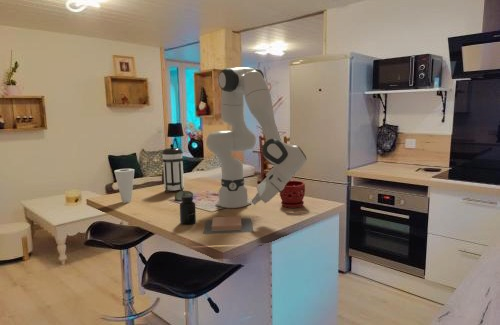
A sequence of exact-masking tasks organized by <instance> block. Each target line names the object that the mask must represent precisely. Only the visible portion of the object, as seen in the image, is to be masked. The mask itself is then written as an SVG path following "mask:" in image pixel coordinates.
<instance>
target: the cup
mask: <svg viewBox="0 0 500 325" xmlns="http://www.w3.org/2000/svg"><path fill="white" fill-rule="evenodd" d="M135 170H136V169H134V168H120V169H115V170H114V171H113V172H114V175H115V180H116V182H117V186H118V191H119V195H120V199H121V202H122V204H126V203H131V202H132V200H133V198H132V196H133V188H134V177H135Z"/></svg>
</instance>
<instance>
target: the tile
mask: <svg viewBox="0 0 500 325" xmlns="http://www.w3.org/2000/svg"><path fill="white" fill-rule="evenodd" d="M241 219H242V216H241V215H239V216H218V217H216V216H214V217H213V218H212V220H213V222H212V231H224V230H242V228H241Z"/></svg>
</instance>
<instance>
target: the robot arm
mask: <svg viewBox="0 0 500 325" xmlns="http://www.w3.org/2000/svg"><path fill="white" fill-rule="evenodd" d="M217 78H218V80H217V81H218V85H219V87H220V89H221V90H222V91H221V98H220V99H221V101H220V117H221V120H222V121H223V122H224V123H225V124H227V125H230V126H231V128H232V129H231V130H218V131H213V132H210V133H209V134H208V135H207V138H206V146H207V149H208V150H209V151H210V152H211V153H213V154H214V155H215V156H216V157H217V158H218V160H219V162H220V163H219V164H220V167H221V180H220V185H221V187H220V188H219V190H218V200H217V201H216V202H215V206H217V207H222V208H228V209H236V208H238V209H239V208H243V207H245V206H248V205H252V204H253V205H255V206H256V205H257V203H259V202H260V201H262V202H263V203H264V204H266V203H269V202H270V201H271V200H272V199H273V198H274V197H276V195H277V194H278V193H280V192H279V190H280V191H282V190H283V189H284V187H285V185H286V184H287V183H288V182H289V181H291V179H292V177H293V176H295V175H297V173H299V171H300V170H301V169H302V168H303V167H304V166H305V164H306V162H307V156H306V154H305V152H304V151H303V149H302V148H300V146H298V145H293V144H290V143H289V144H288V143H286V142H284V141H282V139H281V136H280V133H279V130H278V127H277V124H276V121H275V114H274V109H273V107H274V106H273V100H272V96H271V93H270V90H269V87H268V83H267V82H266V80H265V76H264V73H263V71H262V70H261V69H259V68H256V67H247V66H246V67H244V66H240V67H227V68H223V69H221V71H219V74H218V77H217ZM244 101H245V102H246V106H247V107H248V109H249V112H250V113H251V114H252V115H253V117H254V119H255V120H256V121H257V122H258V123H259V125H260V127H261V129H262V132H263V134H264V137H265V140H266V141H265V142H264V144H263V145H262V147H261V148H262V151H261V152H262V155H263V156H264V158H265V160H267V161H268V162H269V163H270V164H271V165H272V166H273V167H272V168H271V169H270V170H269V171H268V172H267V173H266V174H265V176H266V177H265V178H264V179H263V180H262V181H261V182H260V183H259V184H258V185H257V187H256V190H257V193H256V194H255V196H254V197H253V198H252V199H251V200H250V199H248V197H249V196H248V188H247V187H246V186H245V177H244V165H243V164H244V163H243V162H242V161H241V160H240V159H238V158H236V157H233V156H232V153H235V152H246V151H251V150H253V149H254V147H255V146H256V143H257V139H256V138H257V137H256V134H255V133H254V132H253V131H252V130H250V129H249V128H248V127H247V124H246V122H245V119H244V118H245V117H244V116H245V115H244Z"/></svg>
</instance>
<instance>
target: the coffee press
mask: <svg viewBox="0 0 500 325" xmlns="http://www.w3.org/2000/svg"><path fill="white" fill-rule="evenodd" d="M169 146H170V147H168V148H164V149H163V150H162V152H161V155H162V159H161V160H162V168H163V169H162V170H163V180H164V181H163V184H164V193H165V194H168V193H169V191H170V192H171V191H178V192H180V191H184V189H185V185H184V184H185V183H184V182H185V181H184V179H185V178H184V165H183V164H184V163H183V160H184V157H183V154H184V152H183V150H182V149H181V148H179V147H175V145H174V144H173V143H170V145H169Z"/></svg>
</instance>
